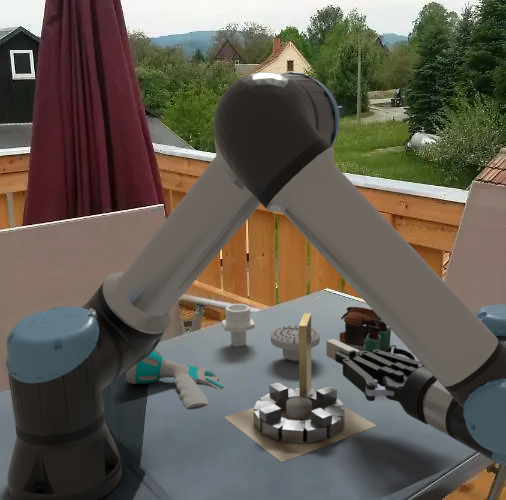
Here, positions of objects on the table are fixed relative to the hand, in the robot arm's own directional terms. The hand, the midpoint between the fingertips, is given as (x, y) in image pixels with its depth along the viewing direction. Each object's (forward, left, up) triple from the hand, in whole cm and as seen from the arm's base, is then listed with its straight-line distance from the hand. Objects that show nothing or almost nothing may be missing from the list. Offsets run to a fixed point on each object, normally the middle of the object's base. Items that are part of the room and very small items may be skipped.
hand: (330, 347), depth 110 cm
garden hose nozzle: (-19, +20, -11) cm, 29 cm away
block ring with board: (-8, -2, -9) cm, 12 cm away
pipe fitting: (+2, +32, -10) cm, 34 cm away
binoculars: (+16, +2, -10) cm, 19 cm away
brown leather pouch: (+24, +18, -11) cm, 32 cm away
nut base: (-9, -4, -10) cm, 14 cm away
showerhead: (+5, +16, -10) cm, 20 cm away
